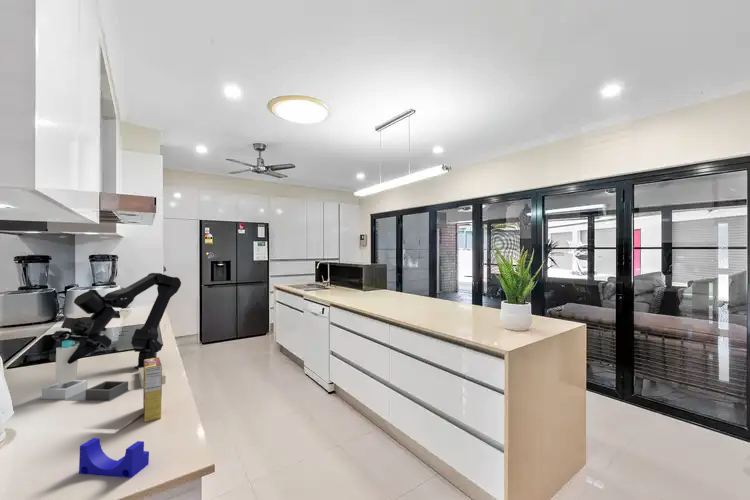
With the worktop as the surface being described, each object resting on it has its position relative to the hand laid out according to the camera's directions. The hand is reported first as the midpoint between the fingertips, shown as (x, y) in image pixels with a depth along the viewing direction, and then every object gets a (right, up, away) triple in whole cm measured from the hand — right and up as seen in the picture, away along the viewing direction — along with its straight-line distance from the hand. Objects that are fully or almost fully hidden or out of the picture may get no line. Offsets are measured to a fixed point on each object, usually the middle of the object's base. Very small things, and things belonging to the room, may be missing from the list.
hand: (61, 362), depth 105 cm
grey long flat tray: (+7, -11, +1) cm, 13 cm away
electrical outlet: (+18, -13, +16) cm, 27 cm away
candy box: (+36, -12, -10) cm, 39 cm away
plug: (0, -6, +1) cm, 7 cm away
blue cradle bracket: (+45, -12, -34) cm, 57 cm away
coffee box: (-43, -12, +54) cm, 70 cm away
